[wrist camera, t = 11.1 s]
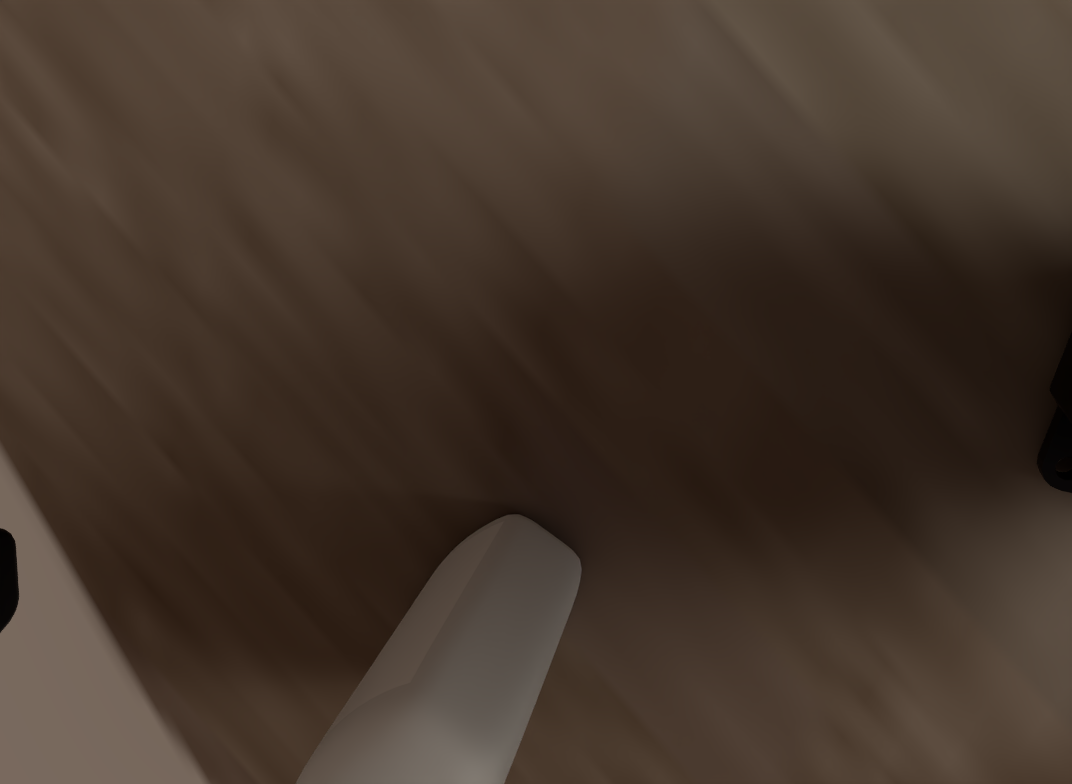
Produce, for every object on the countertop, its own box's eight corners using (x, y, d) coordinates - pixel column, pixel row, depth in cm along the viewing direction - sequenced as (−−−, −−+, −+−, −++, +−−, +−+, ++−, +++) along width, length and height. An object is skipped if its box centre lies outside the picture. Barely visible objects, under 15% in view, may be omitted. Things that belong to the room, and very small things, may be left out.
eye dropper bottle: (368, 560, 25) (36, 969, 14) (553, 492, 23) (336, 909, 12) (445, 694, 26) (191, 1178, 15) (630, 640, 24) (495, 1156, 13)
